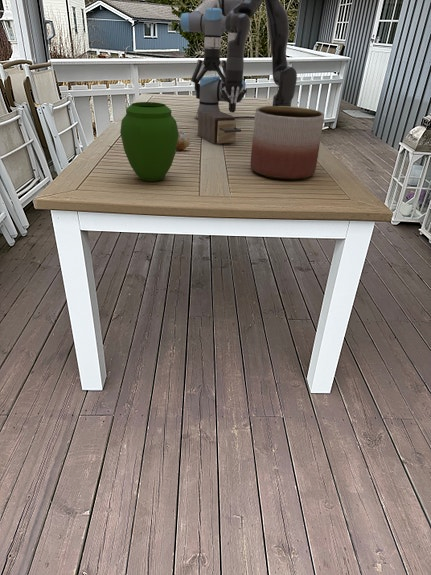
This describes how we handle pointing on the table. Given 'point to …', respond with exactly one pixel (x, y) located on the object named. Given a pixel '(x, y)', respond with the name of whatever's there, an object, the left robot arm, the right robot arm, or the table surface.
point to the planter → (286, 142)
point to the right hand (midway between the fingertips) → (231, 112)
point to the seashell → (182, 141)
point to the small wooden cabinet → (210, 123)
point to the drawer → (226, 131)
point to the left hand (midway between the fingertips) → (210, 98)
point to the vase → (149, 139)
